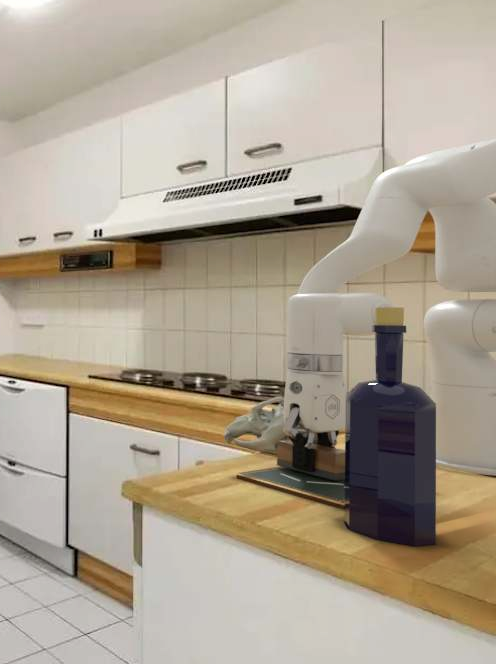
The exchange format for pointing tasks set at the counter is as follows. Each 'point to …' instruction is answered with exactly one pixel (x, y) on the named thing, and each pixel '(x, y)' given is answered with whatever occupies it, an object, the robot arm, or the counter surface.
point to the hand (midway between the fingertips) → (313, 467)
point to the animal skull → (260, 428)
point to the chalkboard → (300, 484)
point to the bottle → (390, 447)
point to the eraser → (316, 460)
